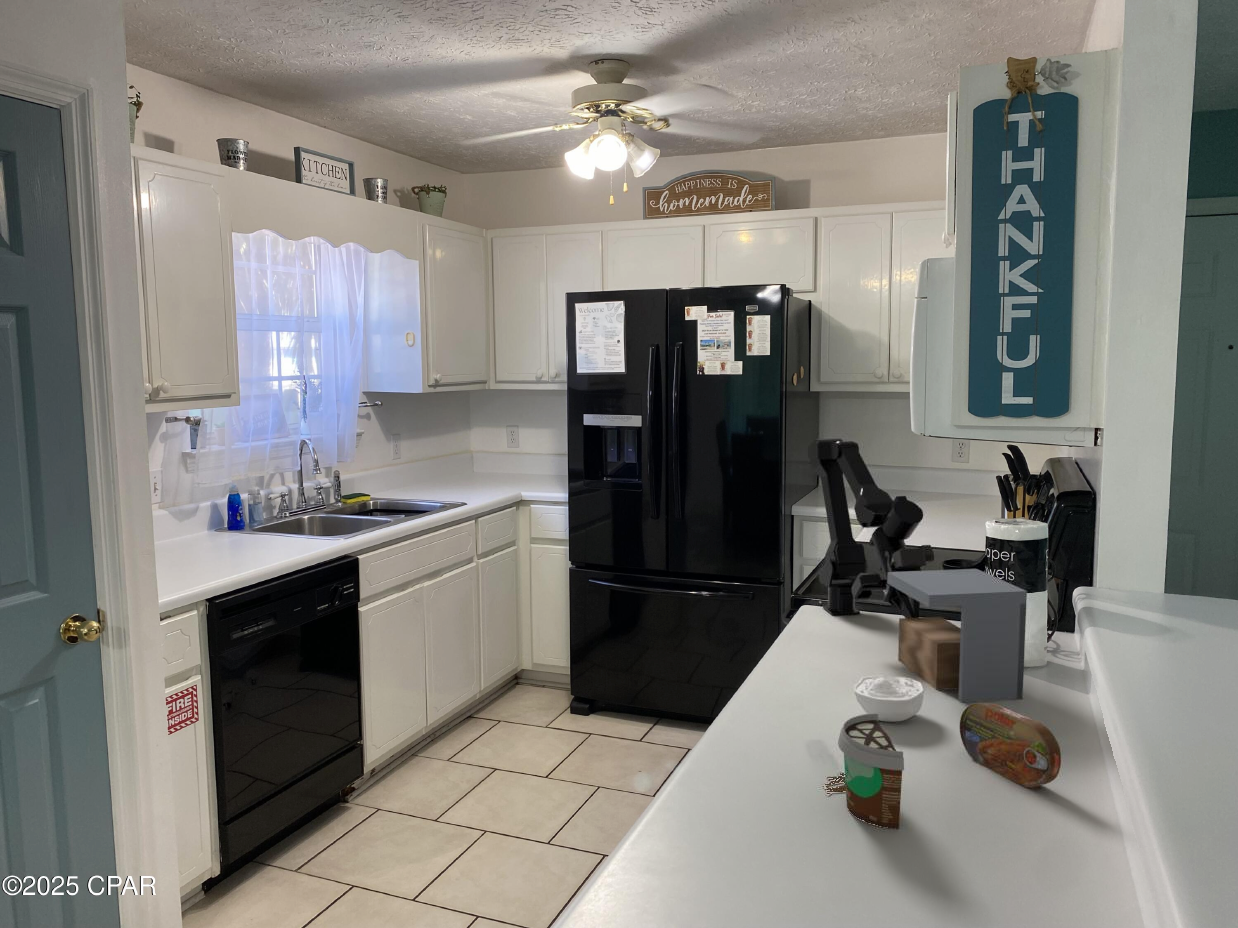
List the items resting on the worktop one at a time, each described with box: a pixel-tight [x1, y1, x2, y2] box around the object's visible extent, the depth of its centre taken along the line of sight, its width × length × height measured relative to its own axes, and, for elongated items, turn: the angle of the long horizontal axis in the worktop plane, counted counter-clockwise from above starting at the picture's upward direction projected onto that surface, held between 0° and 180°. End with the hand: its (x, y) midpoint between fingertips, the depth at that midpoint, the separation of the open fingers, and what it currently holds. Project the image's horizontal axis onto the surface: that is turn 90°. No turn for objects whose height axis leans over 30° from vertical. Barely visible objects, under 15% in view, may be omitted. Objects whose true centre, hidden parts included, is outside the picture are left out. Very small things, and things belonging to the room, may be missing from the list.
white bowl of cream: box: [853, 674, 925, 723], centre depth 137 cm, size 10×12×7 cm
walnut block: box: [897, 616, 961, 691], centre depth 156 cm, size 15×8×8 cm, turn 6°
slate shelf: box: [887, 568, 1028, 703], centre depth 150 cm, size 16×16×18 cm
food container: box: [837, 713, 905, 830], centre depth 109 cm, size 12×6×10 cm, turn 178°
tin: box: [959, 702, 1062, 788], centre depth 118 cm, size 15×3×8 cm, turn 23°
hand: (916, 624), depth 163 cm, fingers closed, pressing on walnut block
